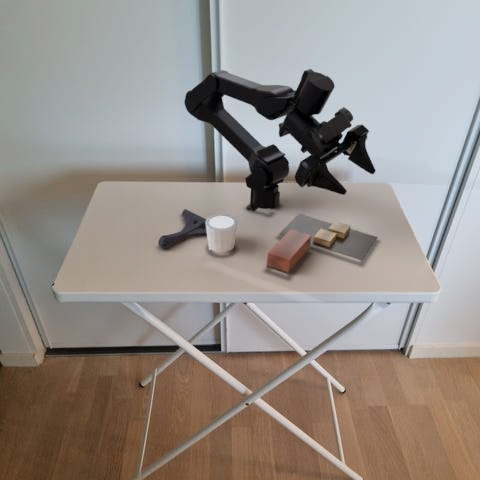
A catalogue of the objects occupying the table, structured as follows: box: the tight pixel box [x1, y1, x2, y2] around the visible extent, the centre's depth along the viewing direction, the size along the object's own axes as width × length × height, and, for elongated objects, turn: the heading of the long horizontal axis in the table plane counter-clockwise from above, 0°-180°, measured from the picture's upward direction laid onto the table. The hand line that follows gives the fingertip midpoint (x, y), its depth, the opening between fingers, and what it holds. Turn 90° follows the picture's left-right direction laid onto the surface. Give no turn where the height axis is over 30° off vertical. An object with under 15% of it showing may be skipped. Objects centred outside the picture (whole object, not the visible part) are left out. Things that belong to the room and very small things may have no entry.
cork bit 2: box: [328, 220, 352, 239], centre depth 107 cm, size 4×4×2 cm
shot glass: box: [205, 213, 238, 253], centre depth 101 cm, size 7×7×7 cm
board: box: [279, 213, 378, 261], centre depth 107 cm, size 20×11×1 cm, turn 60°
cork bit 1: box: [313, 229, 337, 247], centre depth 105 cm, size 4×4×2 cm
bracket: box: [157, 208, 207, 250], centre depth 106 cm, size 14×15×3 cm
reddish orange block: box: [266, 229, 311, 275], centre depth 99 cm, size 5×11×5 cm, turn 150°
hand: (360, 182), depth 95 cm, fingers open, 9 cm apart
